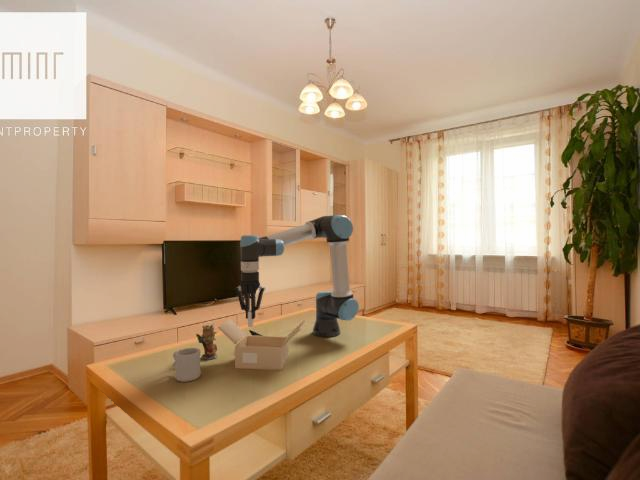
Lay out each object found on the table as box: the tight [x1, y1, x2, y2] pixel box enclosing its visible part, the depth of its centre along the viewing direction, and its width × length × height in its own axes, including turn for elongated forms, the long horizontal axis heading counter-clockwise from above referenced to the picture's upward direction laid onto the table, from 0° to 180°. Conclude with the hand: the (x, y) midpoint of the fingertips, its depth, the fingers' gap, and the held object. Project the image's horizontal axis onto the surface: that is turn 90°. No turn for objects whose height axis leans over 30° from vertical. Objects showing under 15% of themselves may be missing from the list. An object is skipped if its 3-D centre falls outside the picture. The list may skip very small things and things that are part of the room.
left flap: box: [217, 318, 247, 345], centre depth 144 cm, size 13×1×10 cm
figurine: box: [196, 324, 218, 361], centre depth 148 cm, size 9×8×15 cm
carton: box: [234, 334, 289, 371], centre depth 143 cm, size 15×19×9 cm
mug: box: [172, 347, 202, 383], centre depth 128 cm, size 12×9×10 cm
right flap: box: [282, 320, 306, 346], centre depth 142 cm, size 13×1×10 cm
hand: (250, 326), depth 143 cm, fingers closed
